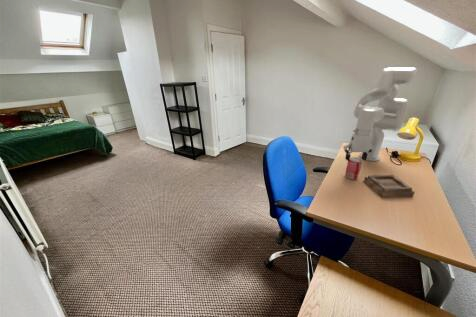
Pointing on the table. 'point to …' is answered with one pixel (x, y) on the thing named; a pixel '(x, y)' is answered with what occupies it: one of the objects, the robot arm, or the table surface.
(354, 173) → the soda can
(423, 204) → the table surface
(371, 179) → the walnut tray
